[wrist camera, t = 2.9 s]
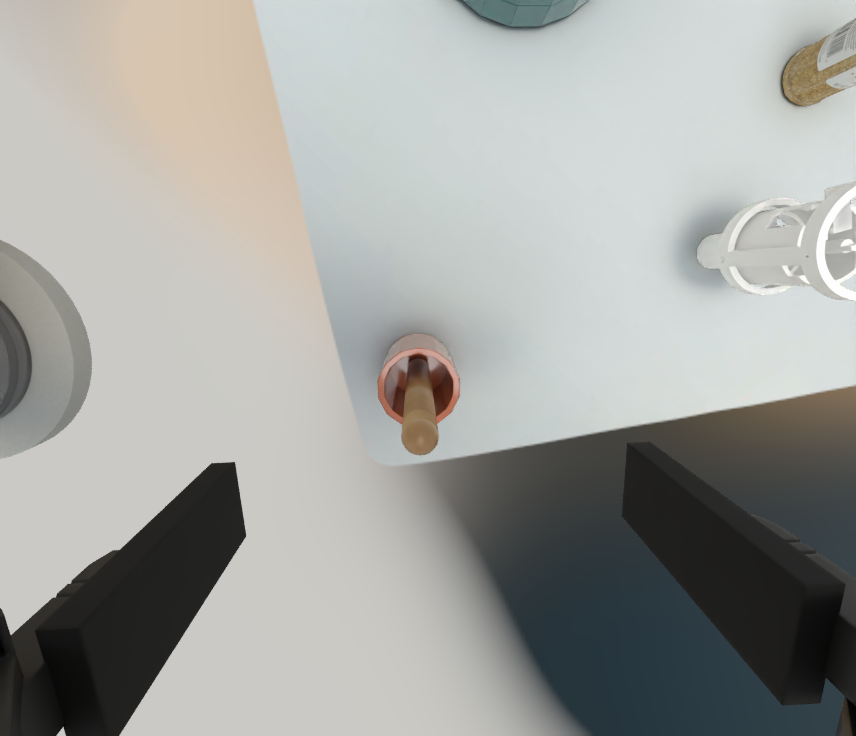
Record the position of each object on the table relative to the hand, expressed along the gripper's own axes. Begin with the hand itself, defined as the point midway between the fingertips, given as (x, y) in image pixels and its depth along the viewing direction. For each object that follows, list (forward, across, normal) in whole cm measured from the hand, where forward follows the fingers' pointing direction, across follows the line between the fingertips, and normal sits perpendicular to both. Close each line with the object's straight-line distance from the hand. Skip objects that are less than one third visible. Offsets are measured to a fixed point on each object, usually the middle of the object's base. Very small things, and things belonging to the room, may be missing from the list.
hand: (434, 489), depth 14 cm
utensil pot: (+26, 0, -2) cm, 26 cm away
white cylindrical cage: (+26, +27, +8) cm, 38 cm away
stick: (+26, 0, -2) cm, 26 cm away
